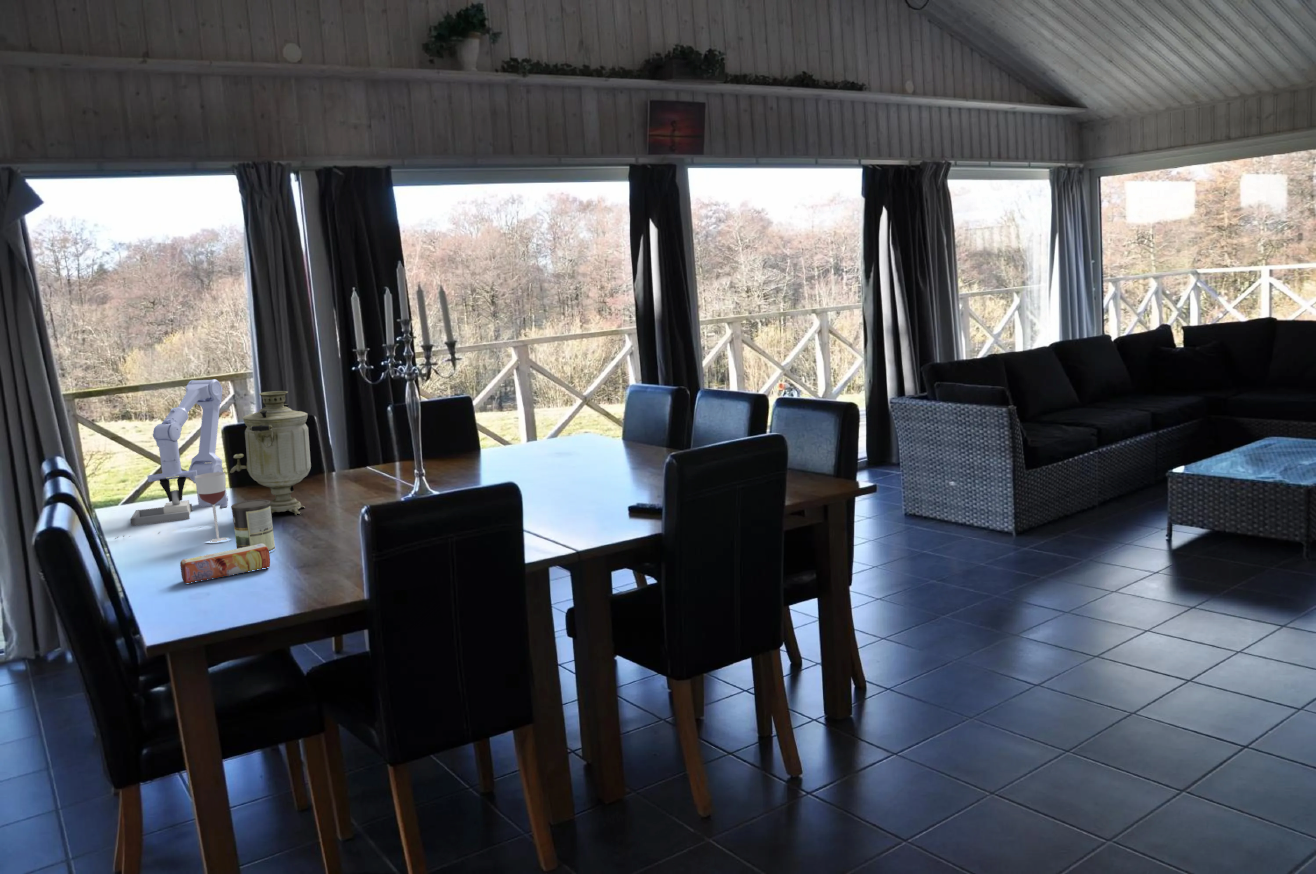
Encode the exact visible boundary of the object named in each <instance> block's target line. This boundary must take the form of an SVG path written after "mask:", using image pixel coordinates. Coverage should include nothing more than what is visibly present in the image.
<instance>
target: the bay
mask: <svg viewBox="0 0 1316 874" xmlns="http://www.w3.org/2000/svg"><path fill="white" fill-rule="evenodd" d="M189 504H190V512H193V510H194V509H193V503H189ZM163 508H164V506H161V507H154V508H153V507H152V508H143V509H137V510H136V509H135V511H134V512H133V514H132V516H131V517H130V523H131V524H130V525H131V527H135V526H143V525H150V524H151V525H152V524H160V523H166V522H167V523H168V522H177V521H183V520H190V519H191V516H190V515H189V511H186V512H178V513H170V514H164V509H163Z"/></svg>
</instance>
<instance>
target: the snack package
mask: <svg viewBox="0 0 1316 874" xmlns="http://www.w3.org/2000/svg"><path fill="white" fill-rule="evenodd" d="M270 556H271V553H269V550H268V548H267V546H266V545H265V544H257V545H253V546H248V547H243V548H238V549H237V548H235V549H234V548H233V549H230V550H225V551H224V550H223V551H219V552H214V553H210V554H205V555H200V556H195V557H191V558H183V559H182V560H181V561H180V563H179V564H180V565H179V566H180V567H179V568H180V574H181V578H182V581H183V582H184V584H185V583H191V582H195V581H201V580H207V579H212V578H218V577H222V578H224V577H223V576H228V577H230V576H229V575H233V574H237V575H239V574H238V573H243V574H245V573H244V572H248V571H252V570H257V569H262V568H267V567H269V568H270V567H271V566H270V565H271V557H270ZM248 573H249V572H248ZM233 576H234V575H233ZM218 579H219V578H218ZM212 580H213V579H212ZM207 581H208V580H207ZM201 582H202V581H201Z"/></svg>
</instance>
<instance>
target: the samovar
mask: <svg viewBox="0 0 1316 874" xmlns="http://www.w3.org/2000/svg"><path fill="white" fill-rule="evenodd" d="M288 393H289V391H285V390H277V391H276V390H275V391H264V392H260V393H258V395H259V396H260V397H261V398H262V399H261V400H262V403H263V404H264V406H265V407H262V408H261V409H259V410H258V412H254V413H249V414H246V415H244V416H242V420H243V423H244V424H245V426H246V428H245V430H244V438H245V448H246V450H245V451H246V465H242V464H241V458H243V457H244V456H245V455H244V454H243V453H236V454H234V455H233V459H237V463H236V464H235V465H234V466H233V467H231V469H230V471H229V473H231V474H232V473H235V471H237V472H241V471H242V470H245V469H246V471H247V472H248V475H249V476H250V477H251V478H252V479H253V481H256V482H257V484H259V485H261V486H264V487H267V488H269V489H270V494H271V495H273V496H274V497H275V499H272V500H270V508H271V515H272V514H273V513H275V512H277V513H280V512H282V513H283V512H286V511H289V512H291V513H294V516H298V515H297V514H300V513H301V511H299V509H302V508H301V507H304V509H306V507H305V506H304V505H302V504H301V502H300V501H299V500H297V499H296V497H292V496H291V495H292V493H294V492H295V490H294V486H295V485H296V484H298V483H300V482H301V481H303V479H304V478H305V477H307V476H308V475H309V473H310V471H311V467H312V463H311V451H310V447H311V446H310V436H309V426H308V425H307V424H306V422H307V419H308V414H309V413H307V412H305V411H301V410H299V411H298V410H293V409H292V408H290V407H289V404H288V403H285V402H286V395H287V394H288ZM300 515H301V514H300Z"/></svg>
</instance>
